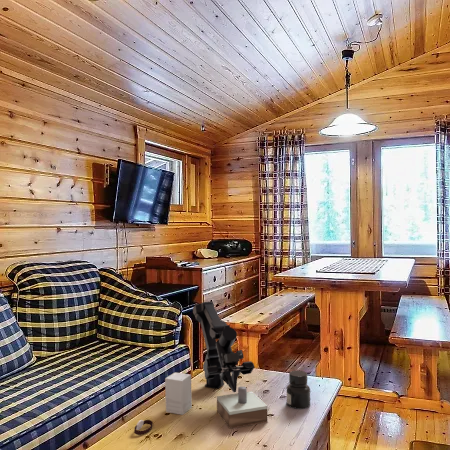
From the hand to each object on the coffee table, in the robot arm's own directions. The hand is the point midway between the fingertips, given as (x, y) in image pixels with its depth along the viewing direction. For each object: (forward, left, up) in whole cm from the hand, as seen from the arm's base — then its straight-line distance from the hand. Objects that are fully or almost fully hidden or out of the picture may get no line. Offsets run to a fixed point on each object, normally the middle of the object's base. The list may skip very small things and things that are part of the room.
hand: (234, 391), depth 168 cm
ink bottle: (+20, +14, -7) cm, 25 cm away
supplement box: (-19, -9, -7) cm, 22 cm away
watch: (-21, -28, -7) cm, 36 cm away
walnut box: (+5, -5, -7) cm, 9 cm away
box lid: (+5, -5, -2) cm, 7 cm away
